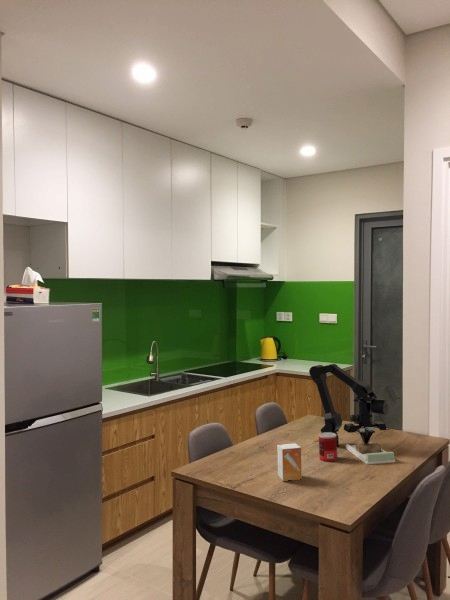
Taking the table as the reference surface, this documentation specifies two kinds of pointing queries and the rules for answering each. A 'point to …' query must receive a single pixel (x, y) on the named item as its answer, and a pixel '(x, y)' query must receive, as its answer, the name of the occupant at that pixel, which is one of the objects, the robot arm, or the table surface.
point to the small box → (289, 462)
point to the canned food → (327, 446)
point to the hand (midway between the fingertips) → (365, 445)
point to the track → (363, 455)
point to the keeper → (368, 448)
